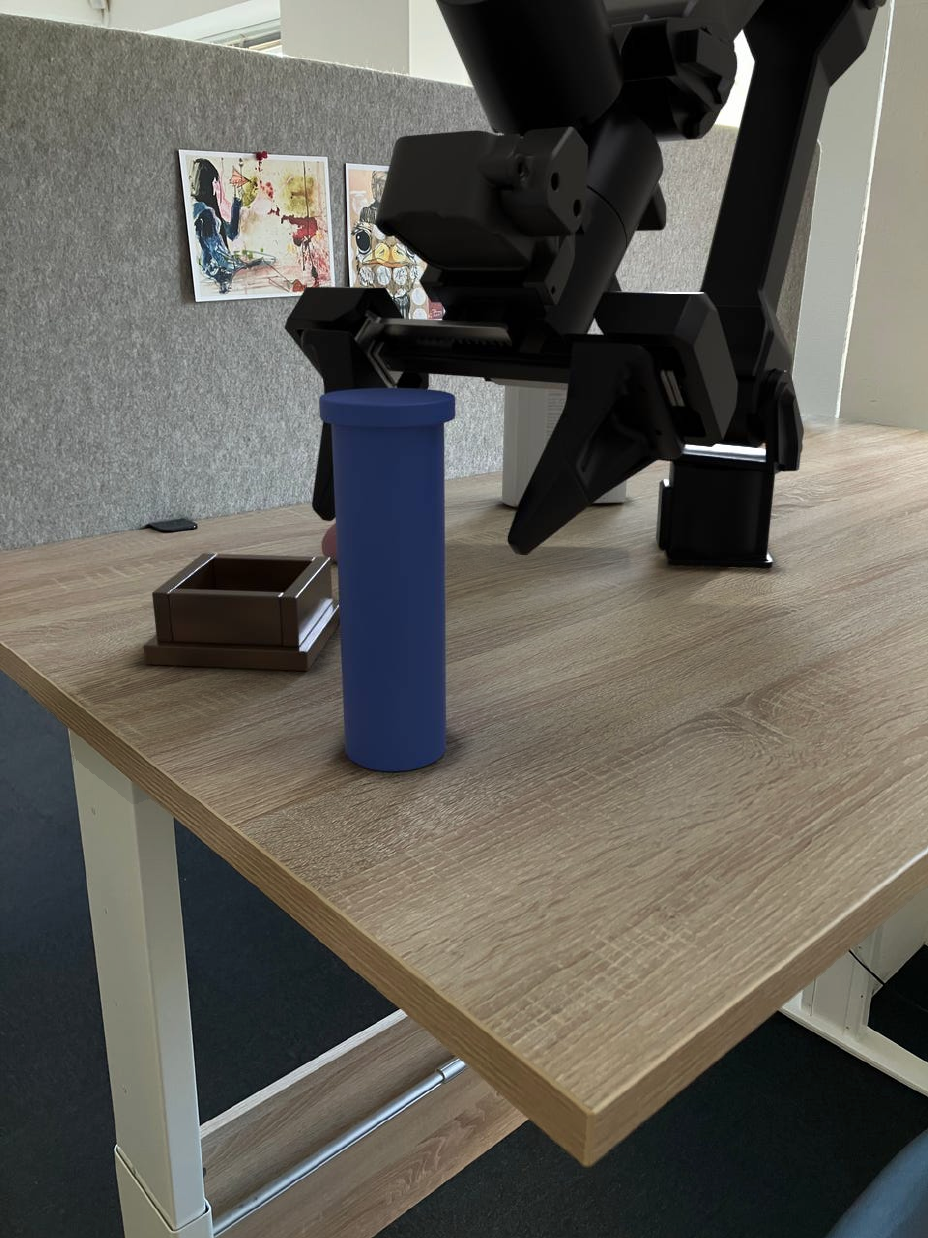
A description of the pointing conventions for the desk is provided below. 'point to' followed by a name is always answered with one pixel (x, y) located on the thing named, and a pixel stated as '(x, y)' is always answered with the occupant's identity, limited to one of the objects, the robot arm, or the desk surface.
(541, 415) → the photo printer
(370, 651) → the blue capped tube
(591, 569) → the desk surface
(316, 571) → the holder
